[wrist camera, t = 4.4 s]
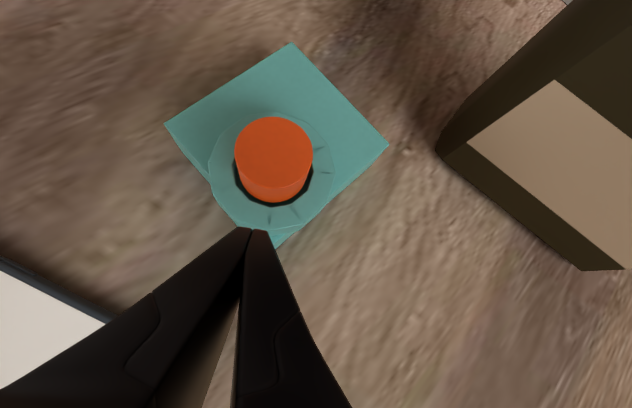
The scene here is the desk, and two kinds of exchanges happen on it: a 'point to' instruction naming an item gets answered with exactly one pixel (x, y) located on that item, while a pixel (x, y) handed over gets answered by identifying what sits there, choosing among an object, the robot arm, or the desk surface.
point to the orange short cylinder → (273, 158)
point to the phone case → (39, 320)
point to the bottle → (558, 135)
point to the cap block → (286, 102)
